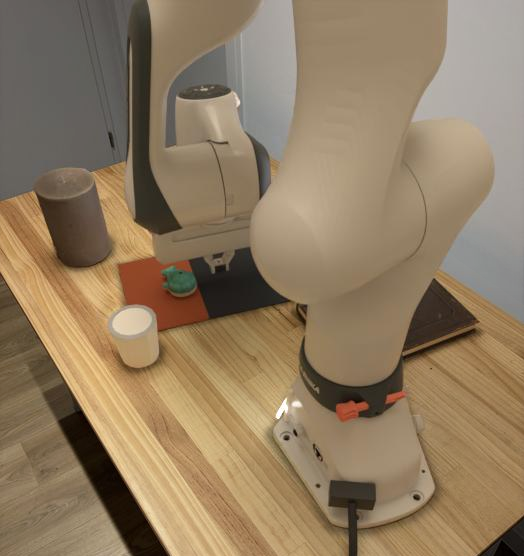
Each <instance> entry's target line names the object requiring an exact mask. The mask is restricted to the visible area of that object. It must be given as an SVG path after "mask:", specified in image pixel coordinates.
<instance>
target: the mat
mask: <svg viewBox="0 0 524 556" xmlns="http://www.w3.org/2000/svg"><path fill="white" fill-rule="evenodd" d="M223 254H224V252H222V253H218V254H213V258H212V259H217V258H222V256H223ZM171 266H175V267H176V269H179V270H185V271H189V272H193V274H194V276H195V278H196V282H197V288H196V290H195V291H194V292H193V293H192V294H191V295H188V296H186V297H176V296H174V295H172V294H171V293H170V291H169V290H166V289H164V288H163V287H162V285H163V284H164V283H166V282H168V280H167V277H165V276H163V275H161V271H162V270H164V269H167V268H169V267H171ZM117 267H118V272H119V277H120V281H121V285H122V290H123V293H124V294H123V295H124V298H125V303H126V306H129V305H143V306H146V307H148V308H150V309H152V310H153V311H154V313H155V314H156V320H157V332H161V331H165V330H169V329H174V328H178V327H181V326H187V325H191V324H196V323H200V322H204V321H208V320H209V321H210V320H212V319H217V318H222V317H227V316H231V315H235V314H240V313H244V312H248V311H252V310H257V309H262V308H266V307H270V306H275V305H279V304H284V303H288V302H292V301H291V300H289V299H287V298H286V297H284V296H282V295H280V294H279V293H278V292H276V291H275V290H274V289H273V288H272V287H271V286H270V285H269V284H268V283H267V282H266V281H265V280H264V278H263V277H262V275H261V274H260V272H259V270H258V268H257V267H256V264H255V262H254V259H253V256H252V253H251V248H250V247H246V248H242V249H237V250H235V254H234V256H233V258H232V259H231V261H230V262H229V270H228V271H223V272H219V273H214V274H212V273H211V270H210V266H209V264H208V263H207V262H206V261H205V260H204V258H203V257H199V258H194V259H189V260H184V261H180V262H175V263H170V264H165V265H162V264H161V263H159V262H158V261H157V260H156V258H155V256H152V257H146V258H142V259H137V260H132V261H127V262H122V263H118V264H117Z"/></svg>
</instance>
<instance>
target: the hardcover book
mask: <svg viewBox="0 0 524 556" xmlns="http://www.w3.org/2000/svg"><path fill="white" fill-rule="evenodd" d="M307 306H308V304H299V303H296V305H295V311H296V313H297V315H298V316H299V318H300V319H301V320H302V322H303V323H304V324H305V325H306V319H307ZM479 323H480V320H479V319H478V318H477V317H476V316H475V315H474V314H473V313H472V312H470V310H469V309H468V308H467V307H465V306H464V304H462V303H461V302H460V301H459V300H458V298H456V297H455V296H454V295H453V293H451V292H450V291H449V290H448V289H447V288H445V286H443V285H442V284H441V283H440V281H438V280H437V278H435V277H434V278H433V280H432V281H431V283H430V285H429V287H428V288H427V290H426V292H425V293H424V295H423V297H422V299H421V300H420V302H419V304H418V306H417V308H416V310H415V312H414V315H413V317H412V320H411V322H410V326H409V329H408V332H407V336H406V339H405V342H404V346H403V349H402V354H403V361H404V360H406V359H409V358H411V357H413V356H417V355H418V354H419V355H420V354H421V353H424V352H427V351H430V350H432V349H435V348H436V347H439V346H442V345H444V344H447V343H449V342H452V341H455V340H457V339H460V338H462V337H465V336H467V335H469V334H472V333H475V332H476V331H477V329H476V328H475V327H476V325H477V324H479Z"/></svg>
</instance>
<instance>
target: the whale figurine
mask: <svg viewBox="0 0 524 556" xmlns="http://www.w3.org/2000/svg"><path fill="white" fill-rule="evenodd" d="M161 275H163V276H165V277H167V280H168V282H166V283H164V284H163V285H162V287H163V288H164V289H166V290H169V291H170V293H171V294H172V295H174V296H176V297H186V296H188V295H191V294H192V293H193V292H194V291H195V290H196V288H197V282H196V278H195V276H194V274H193V272H189V271H185V270H179V269H176V267H175V266H171V267H169V268H167V269H164V270H162V271H161Z"/></svg>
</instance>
